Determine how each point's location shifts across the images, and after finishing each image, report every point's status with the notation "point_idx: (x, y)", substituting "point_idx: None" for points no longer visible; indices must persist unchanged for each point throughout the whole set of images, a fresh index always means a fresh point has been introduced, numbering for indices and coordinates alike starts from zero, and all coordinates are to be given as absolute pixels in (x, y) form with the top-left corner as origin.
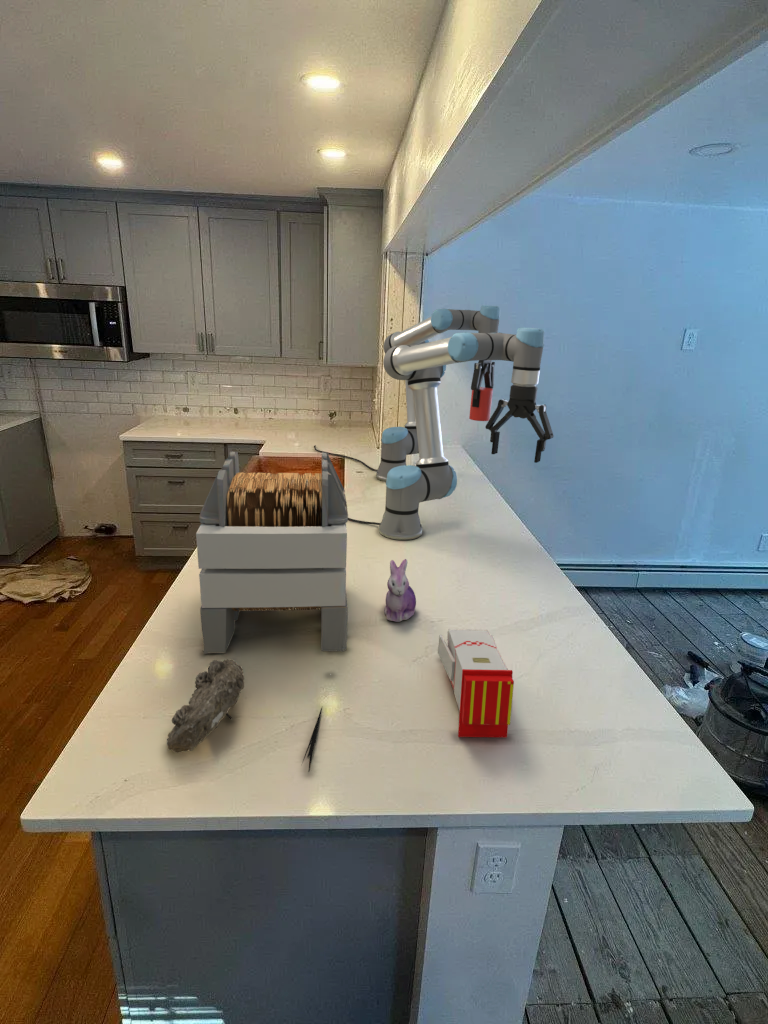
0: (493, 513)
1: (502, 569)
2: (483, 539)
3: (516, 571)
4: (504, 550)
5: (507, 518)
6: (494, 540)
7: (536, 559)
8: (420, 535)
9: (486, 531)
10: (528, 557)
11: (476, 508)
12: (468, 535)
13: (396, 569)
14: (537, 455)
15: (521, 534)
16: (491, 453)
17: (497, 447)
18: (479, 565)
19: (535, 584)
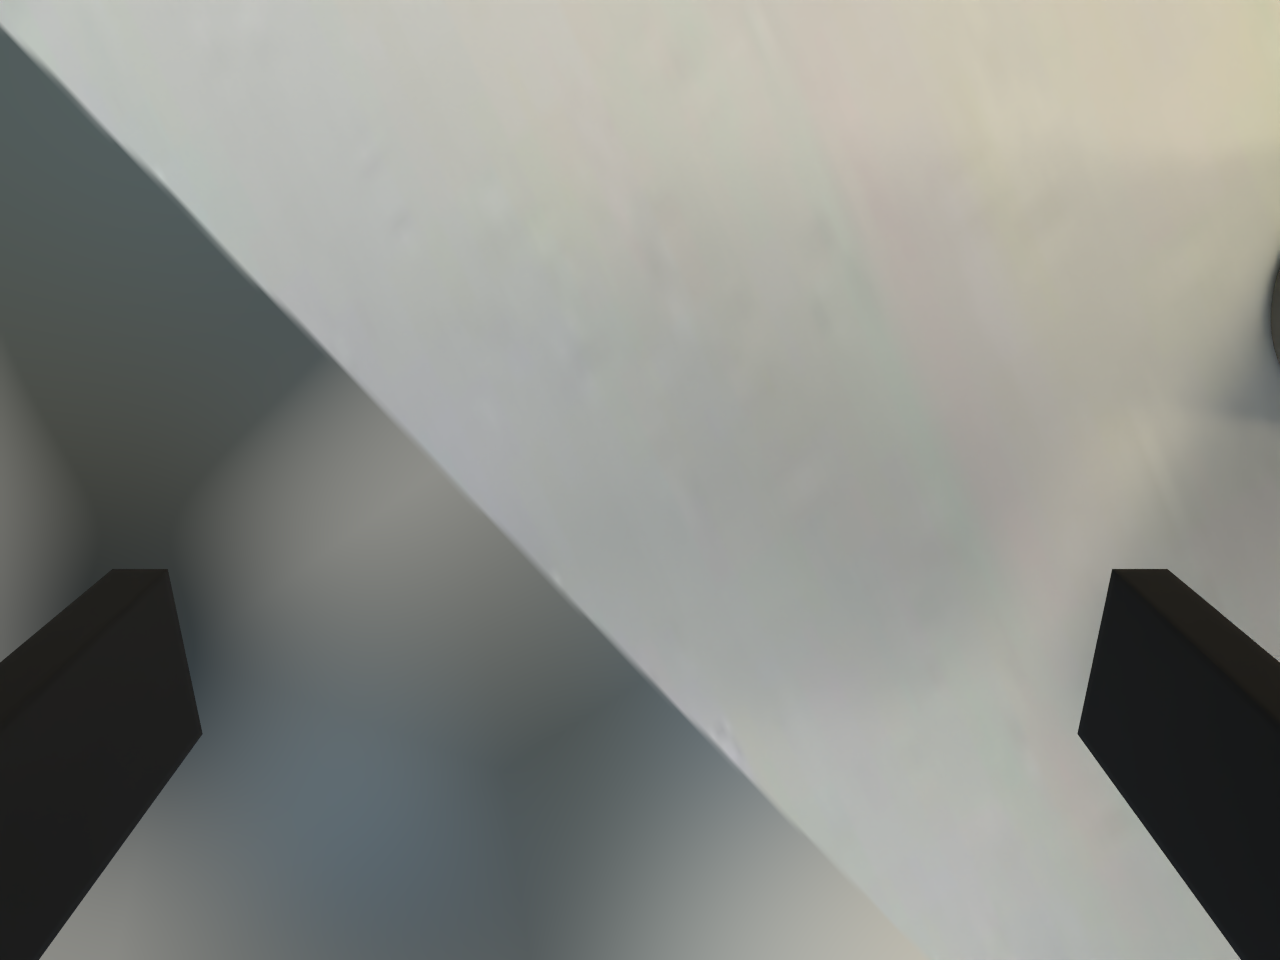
0: (985, 912)
1: (599, 196)
2: (885, 539)
3: (519, 229)
4: (712, 471)
5: (887, 895)
6: (823, 568)
7: (506, 476)
8: (1273, 311)
9: (918, 658)
10: (554, 471)
11: (1101, 920)
12: (990, 535)
13: None
14: (13, 656)
15: (727, 742)
16: (1171, 576)
17: (1146, 792)
18: (742, 148)
19: (344, 129)
